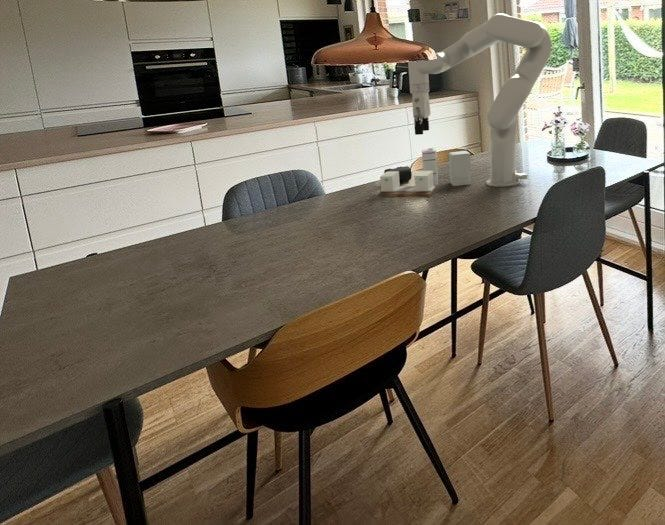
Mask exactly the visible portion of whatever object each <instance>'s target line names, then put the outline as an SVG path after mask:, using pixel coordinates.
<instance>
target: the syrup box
mask: <svg viewBox="0 0 665 525" xmlns="http://www.w3.org/2000/svg"><path fill="white" fill-rule="evenodd" d="M421 156H422V157H421V158H422V171H433V183H434V186H438V185H439V175H438V159H437V148H434V147H430V148H422V150H421Z"/></svg>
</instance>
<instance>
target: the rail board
mask: <svg viewBox="0 0 665 525" xmlns="http://www.w3.org/2000/svg"><path fill="white" fill-rule="evenodd" d="M437 190H438V185H435V186H433V187H432V188H431V189H430V190H429V191H415V185H414V186H412V185H407V186H406V185H405V186H402V185H401V186H399V187H398V188H397V189H395V190H394V191H381V189H380V190H379V192H378V193H377V197H378V198H381V197H382V198H383V197H385V198H388V197H390V198H395V197H396V198H397V197H398V198H403V197H404V198H406V197H407V198H409V197H411V198H413V197H420V198H421V197H423V198H424V197H426V198H427V197H428V198H429V197H431V196H432V195H433V194H434V193H435V192H436V191H437Z"/></svg>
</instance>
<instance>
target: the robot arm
mask: <svg viewBox="0 0 665 525" xmlns="http://www.w3.org/2000/svg"><path fill="white" fill-rule="evenodd" d="M499 42H502V43H507V44H510V45H514V46H519V47H522V48H525V49H526V50H525V52H524V54H523V56H522V58H521V60H520V61H519V63H518V65H517V67H516V69H515V70H514V72H513V74H511V76H510V77H509V78H508V79H506V81H505V82H504V84H503V85H502V87H501V88H500V90H499V92H498V94H497V96H496V97H495V99H494V101H493V102H492V104H491V106H490V107H489V110H488V112H487V114H486V123H487V125H488V126H489V128H490V129H489V131H490V132H489V135H490V136H489V138H490V139H489V145H490V146H489V152H490V154H489V158H490V159H489V160H490V163H489V165H490V169H489V170H490V176H489V179H487V180H486V185H487V186H489V187H495V188H497V187H498V188H503V187H504V188H505V187H506V188H507V187H513V186H516V185H519V184H520V181H521V180H528V175H529V174H528V173H519V172H518V170H516V169H517V168H516V167H517V166H516V161H517V160H516V159H517V158H516V156H517V154H516V152H517V151H516V150H517V148H516V146H517V122H518V120H517V118H518V113H519V112H520V110H521V108H522V107H523V105H524V103H526V100H527V98H528V97H529V96H530V94H531V92H532V91H533V87H534V85H535V83H536V82H537V80H538V78H539V77H540V76H541V73H542V71H543V70H544V68H545V67H546V65H547V62H548V60H549V58H550V55H551V52H552V40H551V36H550V33H549V31H548V30H547V28H546V27H545V25H543V23H541V22H539V21H534V20H533V21H532V20H528V19H524V18H520V17H515V16H511V15H508V14H507V13H496V14H494V15H492V16H491V17H490V18H489V19H488V20H486V21H485V22H483V23H482V24H480V25H478V26H477V27H474V28H473V29H472V30H469V31H467V32H466V33H465V34H464V35H462V37H460V39H459V40H457V41H456V42H455V43H453V44H451V45H450V46H448V47H446V48H444V49H442V50H441V51H439V52H435V53H436V56H437V59H435V60H428V61H419V62H408V61H407V63H408V65H407V66H408V77H409V78H408V79H409V92H410V94H411V95H412V98H411V99H412V100H411V101H412V116H413V118H414V120H413V121H414V122H413V123H414V124H413V125H414V135H424V131H425V132H426V131H429V130H430V123H429V122H430V121H429V117H430V116H431V105H430V95H429V92H430V80H429V78H430V77H429V74H430V75H437V74H441V73H443V72H446V71H448V70H449V69H450V70H451V69H452V68H453V67H455V66H456V65H459V64H460V63H462V62H464V61H466V60H467V59H470V58H472V57H474V56H476V55H477V54H480V53H481V52H483V51H485V50H487V49H488V48H491V47H492V46H494V45H496V44H497V43H499Z"/></svg>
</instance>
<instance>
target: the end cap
mask: <svg viewBox="0 0 665 525" xmlns="http://www.w3.org/2000/svg"><path fill="white" fill-rule="evenodd" d="M389 171H399V181H400V184H403V183H408V182H409V181H411V179H412V177H413V176H412V170H411V167H410V166H408V165H407V166H397V167H396V168H386V169H384V171H383V172H384V173H386V172H389ZM384 173H383V174H384Z"/></svg>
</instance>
